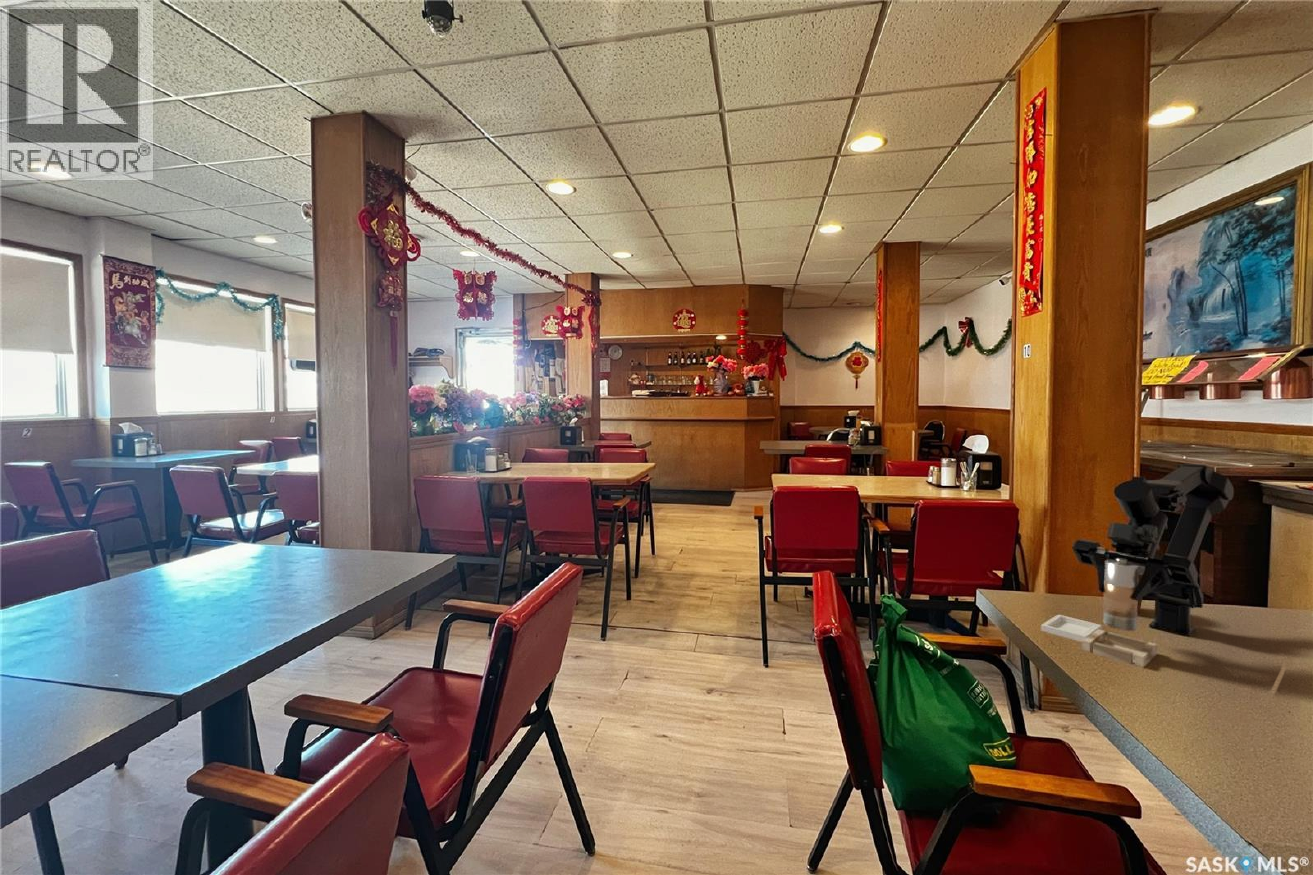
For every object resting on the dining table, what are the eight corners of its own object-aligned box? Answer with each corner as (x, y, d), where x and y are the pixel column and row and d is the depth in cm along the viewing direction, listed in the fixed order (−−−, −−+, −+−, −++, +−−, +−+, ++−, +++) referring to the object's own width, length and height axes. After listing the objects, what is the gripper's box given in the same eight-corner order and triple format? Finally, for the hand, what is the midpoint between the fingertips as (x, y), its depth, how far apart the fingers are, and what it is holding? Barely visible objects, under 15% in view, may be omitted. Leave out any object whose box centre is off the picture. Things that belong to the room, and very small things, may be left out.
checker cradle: (1097, 640, 116) (1098, 629, 115) (1156, 656, 108) (1157, 644, 108) (1082, 652, 110) (1082, 640, 110) (1143, 670, 102) (1143, 657, 102)
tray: (1058, 622, 126) (1058, 614, 126) (1101, 633, 119) (1101, 625, 119) (1040, 633, 120) (1041, 625, 120) (1085, 645, 113) (1085, 636, 113)
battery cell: (1107, 618, 112) (1109, 554, 112) (1140, 626, 108) (1142, 559, 107) (1099, 624, 109) (1100, 558, 109) (1132, 633, 105) (1134, 564, 104)
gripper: (1077, 501, 118) (1050, 560, 113) (1194, 515, 101) (1168, 584, 97) (1093, 533, 122) (1068, 590, 117) (1208, 551, 106) (1184, 619, 101)
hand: (1117, 595), depth 108 cm, fingers closed on battery cell, 5 cm apart
